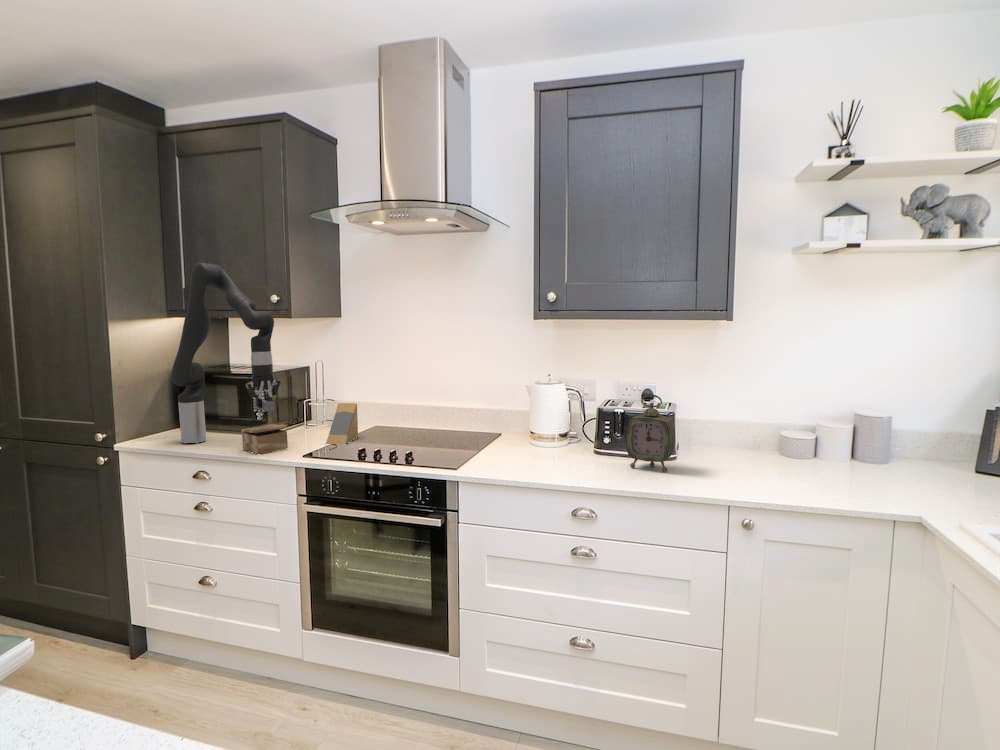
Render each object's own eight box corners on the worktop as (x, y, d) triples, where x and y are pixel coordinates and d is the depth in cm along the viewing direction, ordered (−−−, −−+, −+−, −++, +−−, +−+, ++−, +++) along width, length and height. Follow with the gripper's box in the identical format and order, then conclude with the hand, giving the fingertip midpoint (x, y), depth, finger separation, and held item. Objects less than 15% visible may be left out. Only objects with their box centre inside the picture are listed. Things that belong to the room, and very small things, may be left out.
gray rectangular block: (254, 408, 224) (254, 400, 224) (262, 407, 227) (261, 399, 226) (267, 411, 218) (266, 403, 217) (274, 410, 220) (274, 402, 220)
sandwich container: (324, 445, 230) (322, 409, 229) (339, 437, 245) (337, 402, 244) (344, 446, 229) (343, 409, 227) (358, 437, 244) (357, 403, 243)
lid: (241, 432, 223) (241, 429, 223) (271, 426, 232) (271, 424, 232) (257, 432, 215) (256, 430, 215) (287, 427, 224) (287, 424, 224)
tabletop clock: (625, 468, 192) (626, 394, 189) (633, 462, 200) (634, 391, 197) (668, 474, 184) (670, 397, 182) (675, 467, 192) (677, 394, 189)
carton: (243, 450, 224) (242, 432, 223) (272, 444, 233) (270, 427, 232) (258, 454, 216) (257, 436, 215) (287, 448, 225) (286, 431, 224)
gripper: (273, 361, 228) (276, 404, 230) (239, 364, 217) (242, 409, 219) (284, 362, 223) (286, 405, 225) (249, 365, 212) (251, 411, 214)
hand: (264, 407), depth 222 cm, fingers closed on gray rectangular block, 3 cm apart
